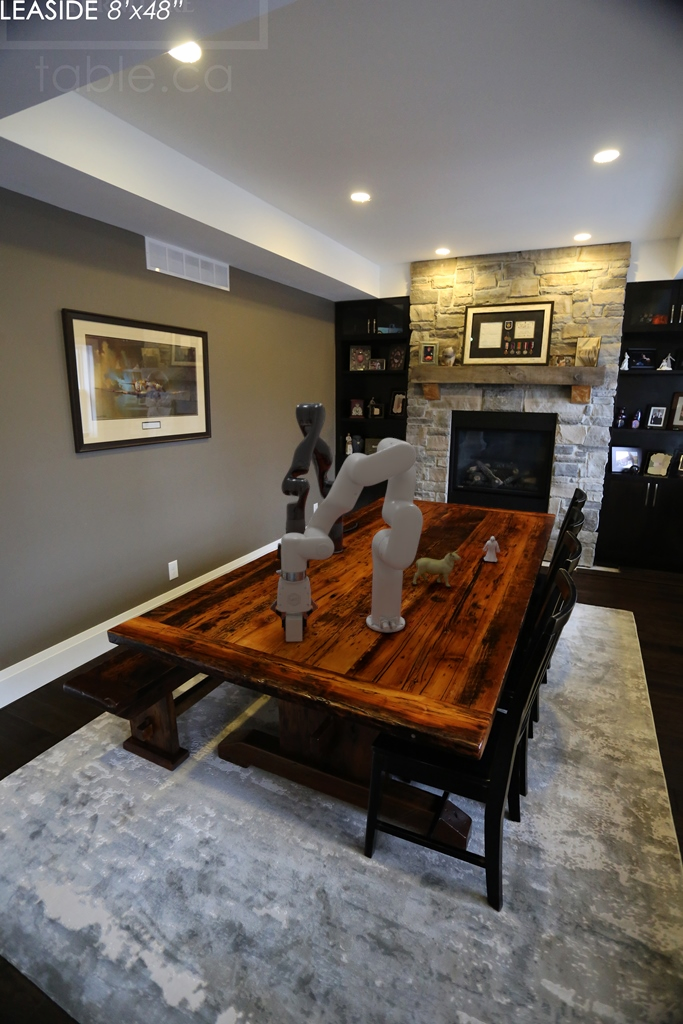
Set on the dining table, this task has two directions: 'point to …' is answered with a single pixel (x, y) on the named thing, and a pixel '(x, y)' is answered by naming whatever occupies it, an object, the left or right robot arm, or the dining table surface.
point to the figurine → (491, 550)
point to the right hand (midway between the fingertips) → (294, 628)
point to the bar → (293, 626)
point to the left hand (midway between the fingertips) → (295, 569)
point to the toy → (436, 567)
